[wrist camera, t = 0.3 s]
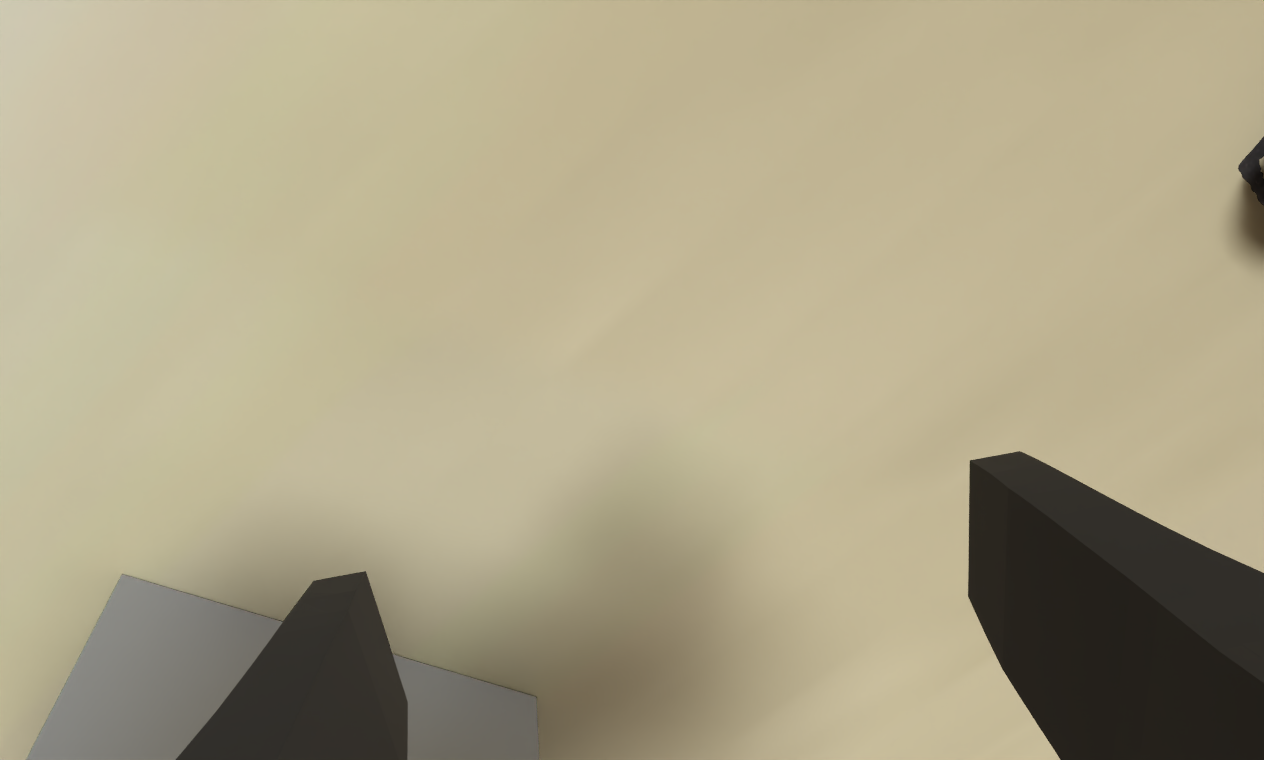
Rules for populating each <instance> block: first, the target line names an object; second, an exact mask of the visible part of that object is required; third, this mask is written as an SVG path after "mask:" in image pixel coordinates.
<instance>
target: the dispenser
mask: <svg viewBox="0 0 1264 760" xmlns="http://www.w3.org/2000/svg"><path fill="white" fill-rule="evenodd" d="M282 623H283V622H282V621H278V620H275V619H272V618H268V617H265V616H261V615H258V614H255V613H251V612H248V611H245V610H241V609H238V608H234V607H231V606H228V605H224V604H221V603H218V602H214V601H211V600H207V599H204V598H201V597H197V596H194V595H191V594H187V593H184V592H180V591H177V590H174V589H170V588H167V587H164V586H160V585H157V584H153V583H150V582H147V581H143V580H140V579H137V578H133V577H130V576H126V575H123V574H122V575H121V577H120V579H119V581H118V583H117V585H116V587H115V589H114V591H113V593H112V594H111V596H110V598H109V600H108V602H107V604H106V606H105V608H104V610H103V612H102V614H101V616H100V618H99V620H98V622H97V623H96V625H95V627H94V629H93V631H92V633H91V635H90V637H89V639H88V641H87V643H86V645H85V647H84V649H83V651H82V652H81V654H80V656H79V658H78V660H77V662H76V664H75V666H74V668H73V670H72V672H71V674H70V676H69V678H68V679H67V681H66V683H65V685H64V687H63V689H62V691H61V693H60V695H59V697H58V699H57V701H56V703H55V705H54V707H53V708H52V710H51V712H50V714H49V716H48V718H47V720H46V722H45V724H44V726H43V728H42V730H41V732H40V734H39V736H38V737H37V739H36V741H35V743H34V745H33V747H32V749H31V751H30V753H29V755H28V757H27V759H26V760H176V759H177V757H178V756H179V755H180V754H181V753H182V751H183V750H184V749H185V748H186V747H187V745H188V744H189V743H190V742H191V741H192V739H193V738H194V737H195V736H196V735H197V734H198V732H199V731H200V730H201V729H202V728H203V726H204V725H205V724H206V723H207V722H208V720H209V719H210V718H211V717H212V716H213V714H214V713H215V712H216V711H217V709H218V708H219V707H220V706H221V704H222V703H223V702H224V700H225V699H226V698H227V696H228V695H229V694H230V692H231V691H232V690H233V689H234V687H235V686H236V685H237V683H238V682H239V681H240V679H241V678H242V677H243V675H244V674H245V673H246V672H247V670H248V669H249V668H250V666H251V665H252V664H253V662H254V661H255V660H256V658H257V657H258V655H259V654H260V653H261V651H262V650H263V649H264V647H265V646H266V645H267V643H268V642H269V640H270V639H271V638H272V636H273V635H274V634H275V632H276V631H277V629H278V628H279V627H280V625H281V624H282ZM393 657H394V661H395V664H396V667H397V670H398V673H399V676H400V679H401V682H402V685H403V688H404V692H405V695H406V698H407V701H408V755H407V760H539V741H538V720H537V699H536V697H535V696H532V695H528V694H525V693H521V692H518V691H515V690H511V689H508V688H505V687H501V686H498V685H494V684H491V683H488V682H484V681H481V680H478V679H474V678H471V677H467V676H464V675H461V674H457V673H454V672H451V671H447V670H444V669H440V668H437V667H434V666H430V665H427V664H424V663H420V662H417V661H413V660H410V659H407V658H403V657H400V656H397V655H393Z"/></svg>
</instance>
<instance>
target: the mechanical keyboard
mask: <svg viewBox="0 0 1264 760" xmlns="http://www.w3.org/2000/svg"><path fill="white" fill-rule="evenodd" d="M1262 157H1264V137H1263V138H1262V139H1261V140H1260V142H1259V143H1258V144H1257V145H1256V146H1255V147H1254V149H1253V150H1252V151H1251V152H1250V153H1249V154H1248V155H1247V156H1246V157H1245V159H1244V160H1243V161H1242V162H1241V163H1240V165H1239V168H1238V169H1239V171H1240V172H1241V174H1242V177H1243V178H1244V179H1245V180H1246V181H1247V182H1248V183H1249V184H1250V186H1251V189H1252V191H1253V192H1255V193H1256V195H1257V198H1258V200H1259V201H1260V202H1261V204H1262V205H1264V179H1263V173H1262V172H1261V167H1260V165H1259V159H1261V158H1262Z"/></svg>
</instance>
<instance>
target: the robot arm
mask: <svg viewBox="0 0 1264 760" xmlns="http://www.w3.org/2000/svg"><path fill="white" fill-rule="evenodd" d="M968 597H969V599H970V601H971V603H972V606H973V608H974V610H975V612H976V614H977V617H978V619H979V621H980V623H981V625H982V628H983V630H984V632H985V634H986V636H987V638H988V640H989V642H990V645H991V647H992V649H993V651H994V653H995V655H996V657H997V659H998V661H999V663H1000V665H1001V667H1002V669H1003V671H1004V672H1005V674H1006V675H1007V677H1008V679H1009V680H1010V682H1011V683H1012V685H1013V687H1014V688H1015V690H1016V691H1017V693H1018V694H1019V696H1020V698H1021V699H1022V701H1023V702H1024V704H1025V705H1026V707H1027V708H1028V710H1029V712H1030V713H1031V715H1032V716H1033V718H1034V719H1035V721H1036V722H1037V724H1038V726H1039V727H1040V729H1041V730H1042V732H1043V733H1044V735H1045V736H1046V738H1047V739H1048V741H1049V742H1050V744H1051V745H1052V747H1053V749H1054V750H1055V752H1056V753H1057V755H1058V756H1059V758H1060V759H1061V760H1264V573H1262V572H1260V571H1258V570H1256V569H1253V568H1251V567H1249V566H1247V565H1245V564H1242V563H1240V562H1238V561H1236V560H1233V559H1231V558H1229V557H1227V556H1225V555H1222V554H1220V553H1218V552H1216V551H1214V550H1211V549H1209V548H1207V547H1205V546H1203V545H1201V544H1199V543H1197V542H1195V541H1193V540H1191V539H1189V538H1187V537H1185V536H1183V535H1181V534H1179V533H1177V532H1175V531H1173V530H1171V529H1169V528H1167V527H1165V526H1163V525H1161V524H1159V523H1157V522H1155V521H1153V520H1151V519H1149V518H1147V517H1145V516H1143V515H1141V514H1139V513H1137V512H1135V511H1134V510H1132V509H1130V508H1128V507H1126V506H1124V505H1122V504H1120V503H1118V502H1116V501H1115V500H1113V499H1111V498H1109V497H1107V496H1105V495H1103V494H1102V493H1100V492H1098V491H1096V490H1094V489H1092V488H1090V487H1089V486H1087V485H1085V484H1083V483H1081V482H1079V481H1077V480H1075V479H1074V478H1072V477H1070V476H1068V475H1066V474H1064V473H1062V472H1060V471H1059V470H1057V469H1055V468H1053V467H1051V466H1049V465H1047V464H1045V463H1043V462H1041V461H1039V460H1037V459H1035V458H1033V457H1031V456H1029V455H1027V454H1025V453H1023V452H1020V451H1019V452H1014V453H1008V454H1003V455H997V456H992V457H987V458H981V459H976V460H970V494H969V581H968ZM407 755H408V701H407V698H406V695H405V692H404V688H403V685H402V682H401V679H400V676H399V673H398V670H397V667H396V664H395V661H394V657H393V654H392V651H391V648H390V645H389V642H388V639H387V636H386V633H385V629H384V626H383V623H382V620H381V617H380V614H379V611H378V608H377V605H376V602H375V598H374V595H373V592H372V589H371V586H370V583H369V580H368V577H367V574H366V571H365V572H360V573H354V574H349V575H343V576H338V577H332V578H327V579H321V580H316V581H313V583H312V584H311V585H310V586H309V588H308V589H307V590H306V592H305V593H304V594H303V596H302V597H301V598H300V600H299V601H298V602H297V604H296V605H295V606H294V608H293V609H292V610H291V612H290V613H289V614H288V616H287V617H286V619H285V620H284V621H283V623H282V624H281V625H280V627H279V628H278V629H277V631H276V632H275V634H274V635H273V636H272V638H271V639H270V640H269V642H268V643H267V645H266V646H265V647H264V649H263V650H262V651H261V653H260V654H259V655H258V657H257V658H256V660H255V661H254V662H253V664H252V665H251V666H250V668H249V669H248V670H247V672H246V673H245V674H244V675H243V677H242V678H241V679H240V681H239V682H238V683H237V685H236V686H235V687H234V689H233V690H232V691H231V692H230V694H229V695H228V696H227V698H226V699H225V700H224V702H223V703H222V704H221V706H220V707H219V708H218V709H217V711H216V712H215V713H214V714H213V716H212V717H211V718H210V719H209V720H208V722H207V723H206V724H205V725H204V726H203V728H202V729H201V730H200V731H199V732H198V734H197V735H196V736H195V737H194V738H193V739H192V741H191V742H190V743H189V744H188V745H187V747H186V748H185V749H184V750H183V751H182V753H181V754H180V755H179V756H178V757H177V759H176V760H407Z"/></svg>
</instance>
